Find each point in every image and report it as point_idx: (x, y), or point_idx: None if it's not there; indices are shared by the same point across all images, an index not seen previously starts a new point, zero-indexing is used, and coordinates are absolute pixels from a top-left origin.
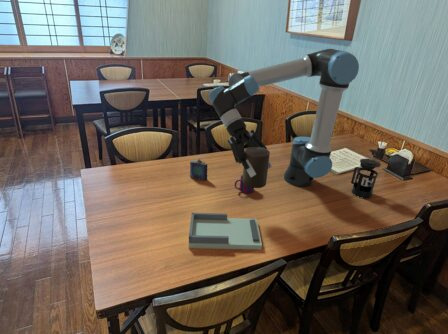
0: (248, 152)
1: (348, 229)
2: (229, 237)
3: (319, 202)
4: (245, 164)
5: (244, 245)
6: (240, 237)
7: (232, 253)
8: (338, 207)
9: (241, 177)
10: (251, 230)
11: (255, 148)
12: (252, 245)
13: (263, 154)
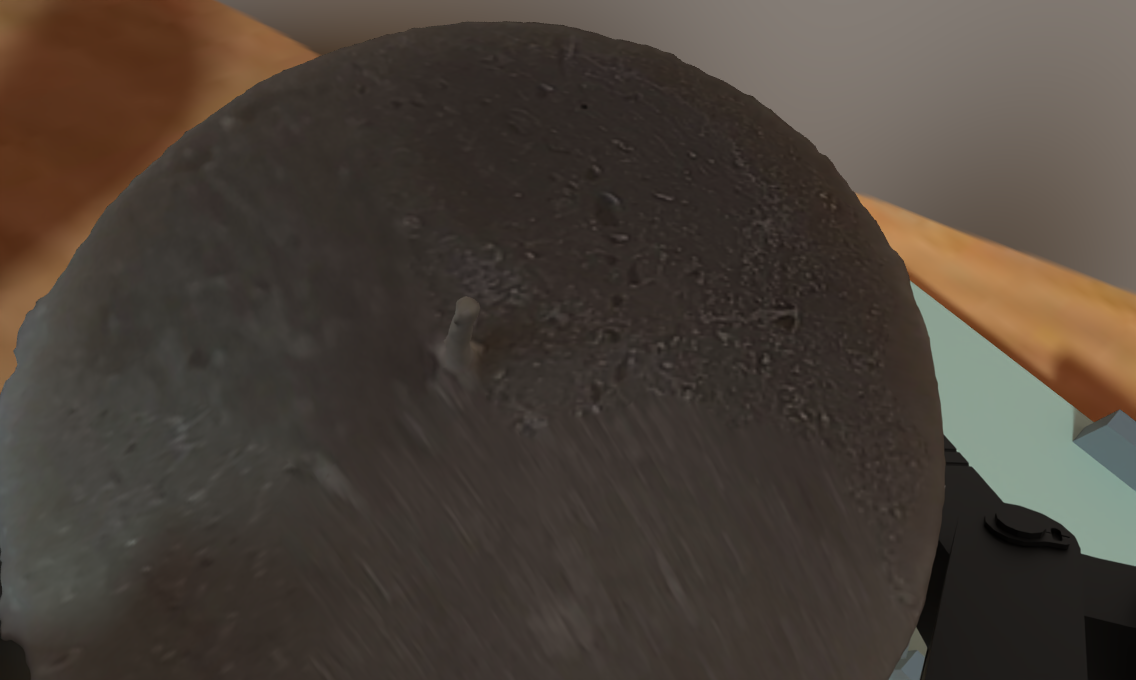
0: (859, 511)
1: (278, 39)
2: (1030, 468)
3: (39, 278)
4: (976, 473)
5: (980, 339)
6: (952, 408)
7: (1063, 382)
8: (40, 162)
9: None
10: None
11: (262, 584)
12: (932, 301)
13: (561, 90)
